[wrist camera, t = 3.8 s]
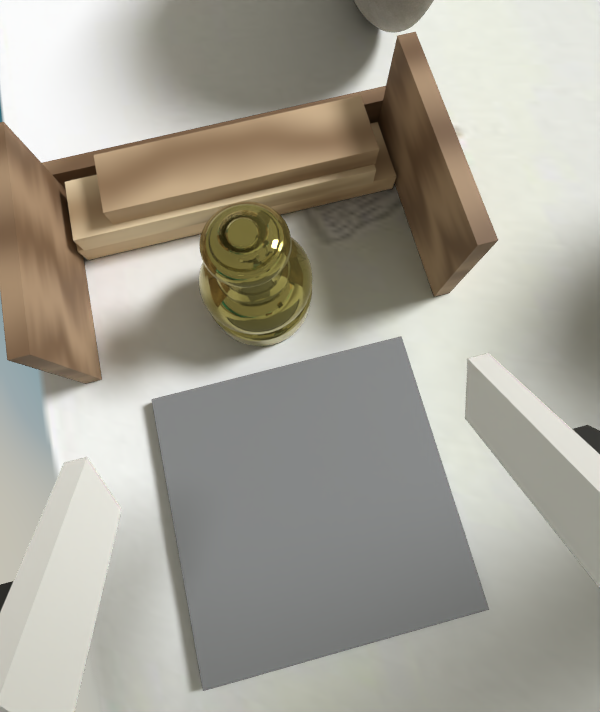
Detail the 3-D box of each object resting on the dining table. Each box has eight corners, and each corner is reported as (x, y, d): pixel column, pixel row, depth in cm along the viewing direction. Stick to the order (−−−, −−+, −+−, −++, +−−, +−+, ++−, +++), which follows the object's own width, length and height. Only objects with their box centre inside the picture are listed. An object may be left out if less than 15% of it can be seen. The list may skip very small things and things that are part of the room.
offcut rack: (449, 292, 31) (498, 240, 23) (85, 383, 30) (7, 359, 22) (385, 115, 34) (409, 17, 27) (57, 189, 33) (-18, 110, 25)
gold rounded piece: (193, 291, 31) (142, 220, 22) (272, 236, 32) (258, 144, 22) (250, 368, 30) (223, 328, 20) (331, 308, 31) (343, 243, 21)
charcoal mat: (483, 604, 26) (489, 609, 26) (206, 683, 26) (203, 691, 25) (398, 339, 30) (401, 336, 29) (155, 400, 29) (151, 399, 29)
